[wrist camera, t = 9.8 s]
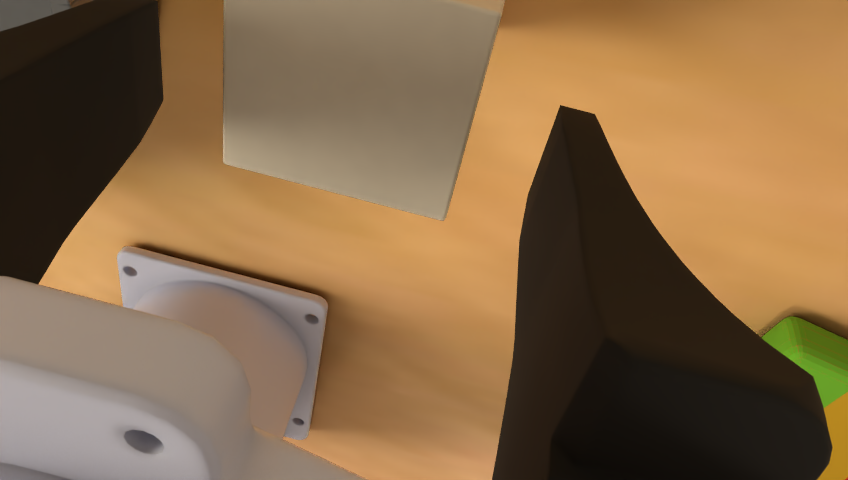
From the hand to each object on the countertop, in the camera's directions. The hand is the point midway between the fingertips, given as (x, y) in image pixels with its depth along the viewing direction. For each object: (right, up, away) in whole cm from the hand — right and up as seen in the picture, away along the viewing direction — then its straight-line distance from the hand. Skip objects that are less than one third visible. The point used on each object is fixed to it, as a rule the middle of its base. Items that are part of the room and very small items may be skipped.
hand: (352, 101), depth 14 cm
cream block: (+1, +5, +5) cm, 8 cm away
